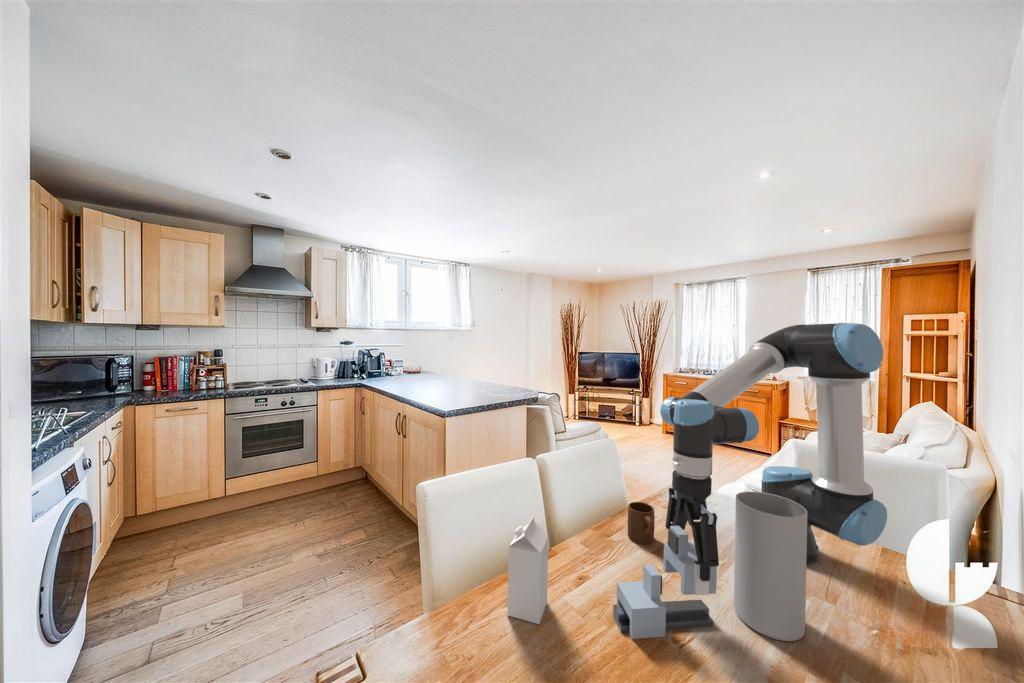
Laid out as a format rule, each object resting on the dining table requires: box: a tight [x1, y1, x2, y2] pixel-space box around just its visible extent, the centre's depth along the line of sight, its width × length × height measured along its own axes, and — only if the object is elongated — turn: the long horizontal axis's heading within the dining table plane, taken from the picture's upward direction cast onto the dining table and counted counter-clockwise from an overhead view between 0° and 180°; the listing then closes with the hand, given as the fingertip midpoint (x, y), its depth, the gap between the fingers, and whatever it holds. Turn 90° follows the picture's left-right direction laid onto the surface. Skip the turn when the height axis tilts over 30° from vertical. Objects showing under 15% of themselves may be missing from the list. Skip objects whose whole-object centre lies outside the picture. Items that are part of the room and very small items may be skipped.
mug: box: [627, 501, 655, 545], centre depth 108 cm, size 12×8×9 cm, turn 2°
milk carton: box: [507, 515, 549, 625], centre depth 80 cm, size 7×7×19 cm
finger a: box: [615, 564, 666, 640], centre depth 77 cm, size 8×8×11 cm
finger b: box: [662, 526, 718, 596], centre depth 78 cm, size 8×8×11 cm
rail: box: [612, 599, 714, 633], centre depth 77 cm, size 20×4×3 cm, turn 96°
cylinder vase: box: [733, 490, 807, 642], centre depth 78 cm, size 12×12×25 cm
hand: (688, 579), depth 78 cm, fingers closed on finger b, 8 cm apart
